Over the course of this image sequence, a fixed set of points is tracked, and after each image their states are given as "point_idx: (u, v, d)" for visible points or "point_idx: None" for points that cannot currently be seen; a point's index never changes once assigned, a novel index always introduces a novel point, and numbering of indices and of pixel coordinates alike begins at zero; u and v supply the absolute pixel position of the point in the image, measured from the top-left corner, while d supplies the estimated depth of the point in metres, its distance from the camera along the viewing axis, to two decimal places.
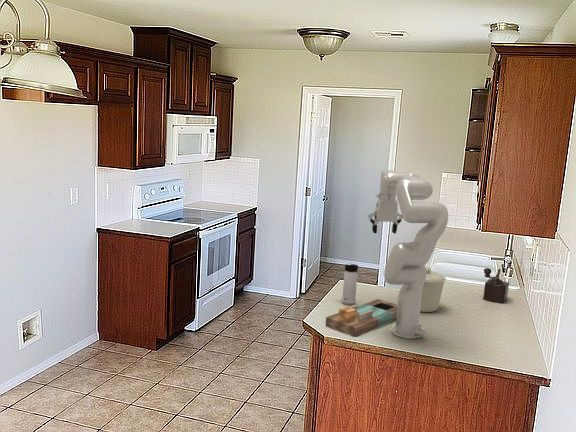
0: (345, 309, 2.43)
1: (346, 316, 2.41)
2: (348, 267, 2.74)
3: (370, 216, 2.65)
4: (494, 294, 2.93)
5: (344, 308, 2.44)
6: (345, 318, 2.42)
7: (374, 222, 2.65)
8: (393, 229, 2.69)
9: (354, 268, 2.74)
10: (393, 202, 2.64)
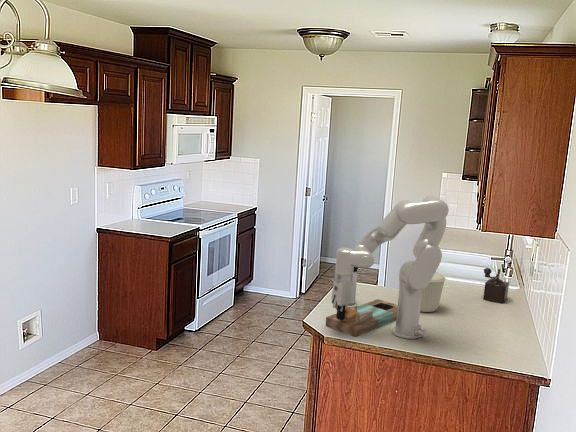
0: (346, 308, 2.44)
1: (347, 315, 2.42)
2: None
3: (336, 306, 2.37)
4: (494, 294, 2.93)
5: None
6: (346, 318, 2.42)
7: (340, 309, 2.38)
8: None
9: (354, 268, 2.74)
10: (351, 282, 2.38)
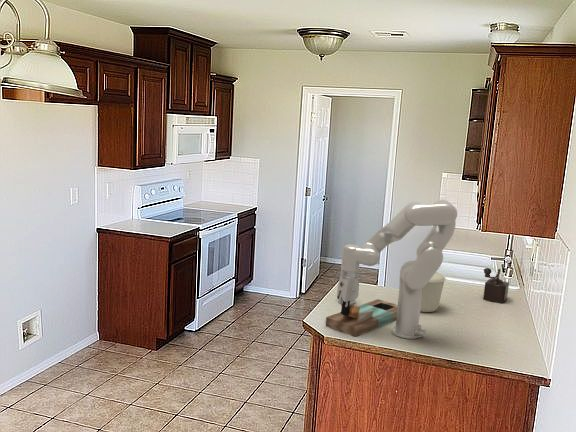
0: None
1: (351, 310, 2.45)
2: None
3: (341, 302, 2.40)
4: (494, 294, 2.93)
5: None
6: (349, 312, 2.45)
7: (345, 305, 2.42)
8: None
9: None
10: (356, 279, 2.42)
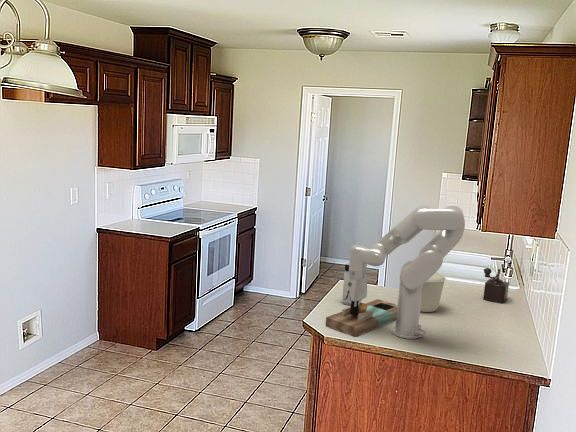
0: None
1: (360, 307, 2.49)
2: (348, 267, 2.74)
3: (349, 302, 2.43)
4: (494, 294, 2.93)
5: None
6: (358, 310, 2.49)
7: (354, 305, 2.45)
8: None
9: None
10: (364, 279, 2.45)
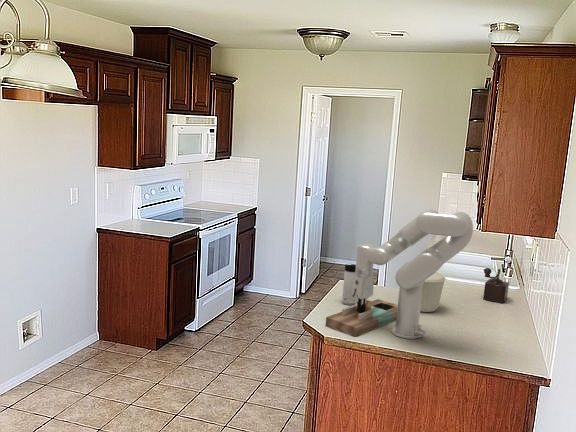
0: None
1: (366, 305, 2.53)
2: (348, 267, 2.74)
3: (356, 299, 2.47)
4: (494, 294, 2.93)
5: None
6: None
7: (361, 303, 2.49)
8: None
9: (354, 268, 2.74)
10: (371, 277, 2.49)
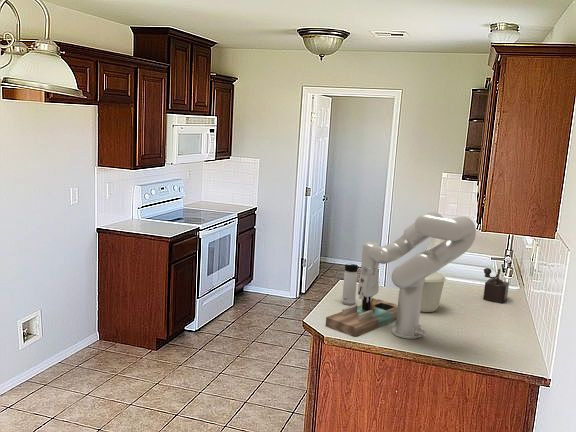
0: None
1: None
2: (348, 267, 2.74)
3: (362, 297, 2.50)
4: (494, 294, 2.93)
5: None
6: None
7: (366, 301, 2.52)
8: None
9: (354, 268, 2.74)
10: (376, 275, 2.52)
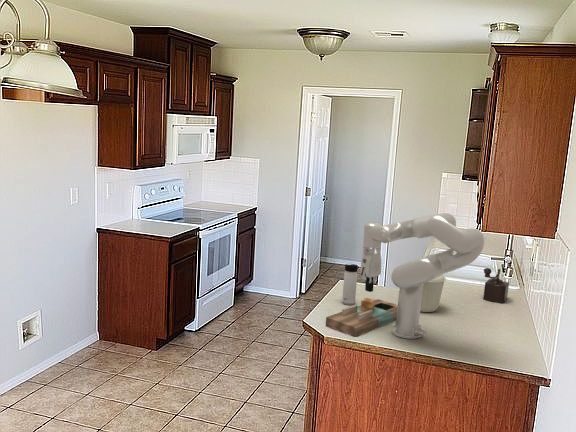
0: (367, 300, 2.57)
1: (369, 306, 2.55)
2: (348, 267, 2.74)
3: (365, 278, 2.48)
4: (494, 294, 2.93)
5: (365, 299, 2.58)
6: (368, 309, 2.55)
7: (369, 281, 2.50)
8: None
9: (354, 268, 2.74)
10: (378, 255, 2.50)
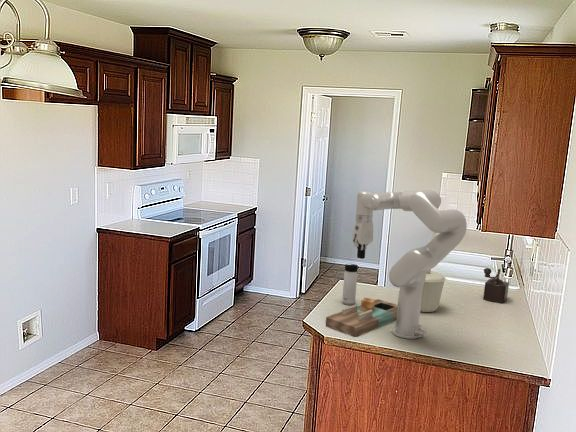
0: (367, 300, 2.57)
1: (369, 306, 2.55)
2: (348, 267, 2.74)
3: (356, 245, 2.54)
4: (494, 294, 2.93)
5: (365, 299, 2.58)
6: (368, 309, 2.55)
7: (361, 248, 2.56)
8: None
9: (354, 268, 2.74)
10: (371, 223, 2.56)
